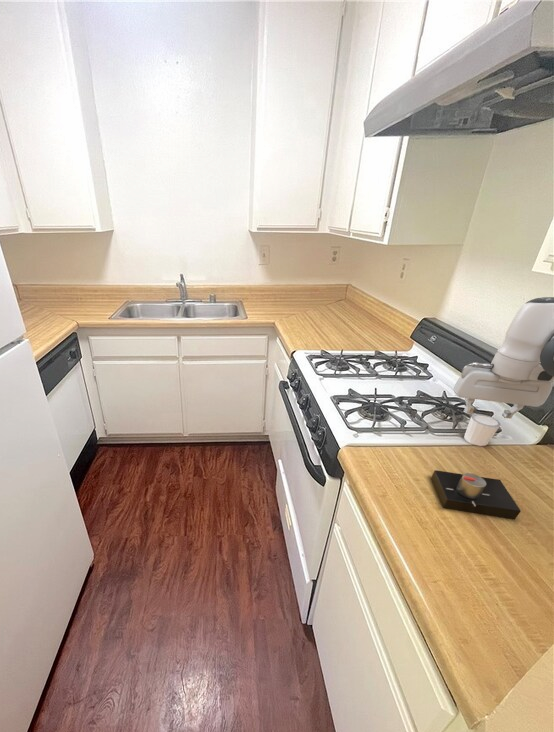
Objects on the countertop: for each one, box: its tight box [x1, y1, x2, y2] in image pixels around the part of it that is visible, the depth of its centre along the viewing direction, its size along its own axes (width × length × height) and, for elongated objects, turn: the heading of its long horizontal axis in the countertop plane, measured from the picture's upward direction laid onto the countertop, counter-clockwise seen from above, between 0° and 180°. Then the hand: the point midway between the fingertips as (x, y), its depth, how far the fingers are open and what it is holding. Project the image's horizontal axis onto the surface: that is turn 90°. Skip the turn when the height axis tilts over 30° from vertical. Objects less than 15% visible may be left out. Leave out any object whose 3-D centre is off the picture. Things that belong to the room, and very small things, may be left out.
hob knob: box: [456, 472, 486, 499], centre depth 74 cm, size 4×4×4 cm
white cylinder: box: [463, 413, 501, 447], centre depth 95 cm, size 7×7×7 cm
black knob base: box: [430, 469, 522, 521], centre depth 76 cm, size 14×11×3 cm
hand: (486, 414), depth 92 cm, fingers open, 8 cm apart
